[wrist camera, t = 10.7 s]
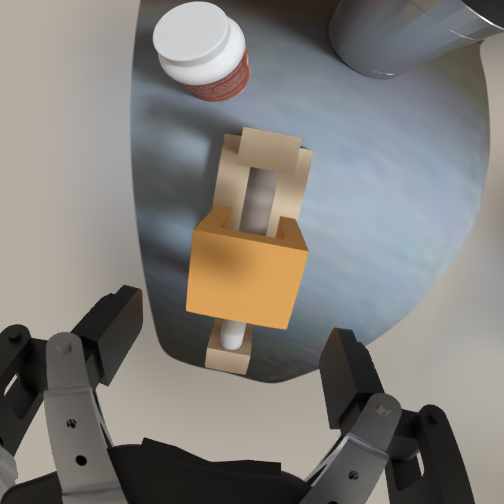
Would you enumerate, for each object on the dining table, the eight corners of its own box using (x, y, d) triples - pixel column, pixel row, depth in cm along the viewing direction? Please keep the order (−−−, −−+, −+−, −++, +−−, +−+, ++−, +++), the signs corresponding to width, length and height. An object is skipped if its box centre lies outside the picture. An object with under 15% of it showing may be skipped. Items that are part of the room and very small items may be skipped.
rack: (227, 134, 24) (195, 120, 13) (310, 151, 24) (347, 150, 13) (203, 285, 30) (172, 359, 18) (275, 299, 30) (278, 379, 19)
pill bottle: (264, 76, 22) (264, 28, 11) (215, 116, 23) (180, 92, 13) (223, 37, 20) (198, -21, 10) (175, 75, 22) (124, 38, 11)
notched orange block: (217, 204, 20) (193, 230, 14) (295, 219, 20) (308, 251, 14) (208, 264, 22) (186, 310, 16) (281, 277, 22) (286, 329, 16)
